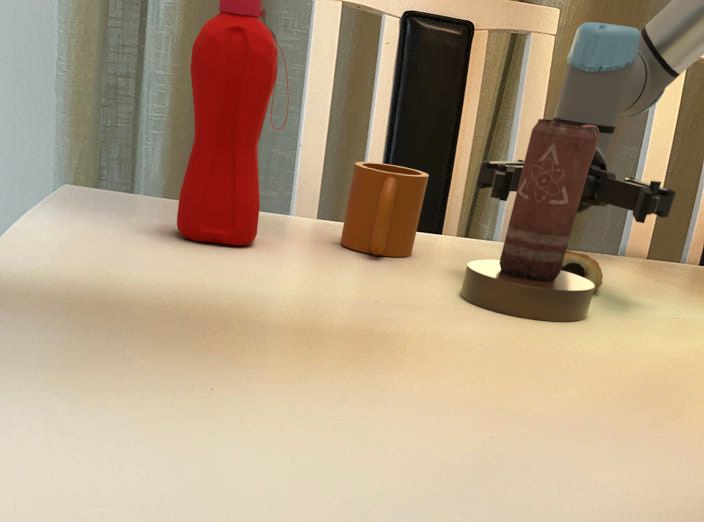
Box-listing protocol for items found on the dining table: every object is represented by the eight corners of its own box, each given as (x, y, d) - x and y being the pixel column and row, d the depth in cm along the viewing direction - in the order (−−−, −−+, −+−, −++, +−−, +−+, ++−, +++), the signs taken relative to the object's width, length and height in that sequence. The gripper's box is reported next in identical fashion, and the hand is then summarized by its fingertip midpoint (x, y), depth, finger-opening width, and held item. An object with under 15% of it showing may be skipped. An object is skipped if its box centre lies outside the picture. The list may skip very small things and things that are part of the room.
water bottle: (271, 253, 112) (306, -12, 99) (173, 240, 112) (196, -27, 99) (269, 237, 120) (301, -9, 107) (178, 226, 120) (199, -23, 107)
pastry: (542, 272, 121) (551, 239, 119) (599, 283, 120) (609, 250, 118) (537, 286, 113) (547, 251, 111) (598, 298, 112) (609, 262, 110)
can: (570, 284, 101) (614, 129, 93) (511, 278, 100) (551, 121, 92) (545, 270, 106) (585, 122, 99) (489, 265, 105) (525, 115, 97)
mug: (324, 251, 117) (338, 167, 112) (349, 237, 127) (363, 159, 122) (399, 265, 115) (416, 180, 110) (419, 250, 125) (435, 171, 120)
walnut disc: (613, 320, 103) (622, 290, 101) (519, 323, 97) (527, 291, 95) (525, 287, 112) (533, 259, 111) (435, 288, 106) (441, 258, 105)
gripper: (670, 228, 118) (690, 257, 100) (459, 194, 122) (442, 216, 104) (693, 158, 114) (718, 175, 96) (474, 125, 118) (459, 136, 101)
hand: (574, 197), depth 100 cm, fingers open, 13 cm apart
